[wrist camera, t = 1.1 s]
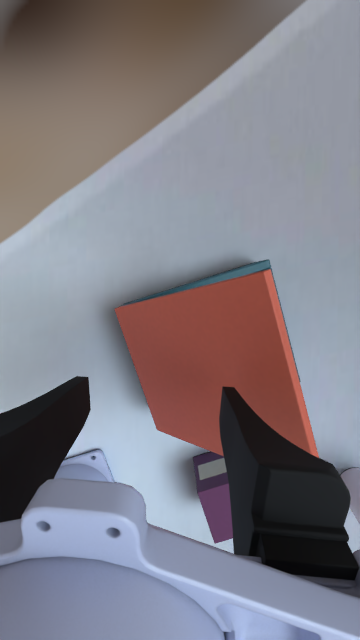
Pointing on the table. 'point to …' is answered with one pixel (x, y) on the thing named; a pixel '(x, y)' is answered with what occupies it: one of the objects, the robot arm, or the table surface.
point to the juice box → (214, 494)
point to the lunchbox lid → (216, 359)
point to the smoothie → (353, 489)
